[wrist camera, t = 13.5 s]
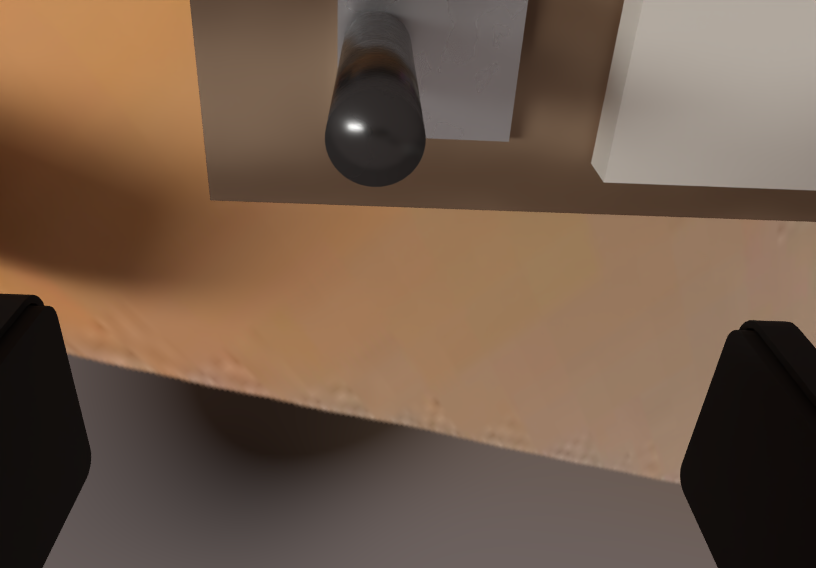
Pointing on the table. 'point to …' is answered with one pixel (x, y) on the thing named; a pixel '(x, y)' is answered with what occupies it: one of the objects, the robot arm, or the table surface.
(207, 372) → the table surface
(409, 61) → the grey plate with peg
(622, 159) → the tile
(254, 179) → the walnut block
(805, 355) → the robot arm
